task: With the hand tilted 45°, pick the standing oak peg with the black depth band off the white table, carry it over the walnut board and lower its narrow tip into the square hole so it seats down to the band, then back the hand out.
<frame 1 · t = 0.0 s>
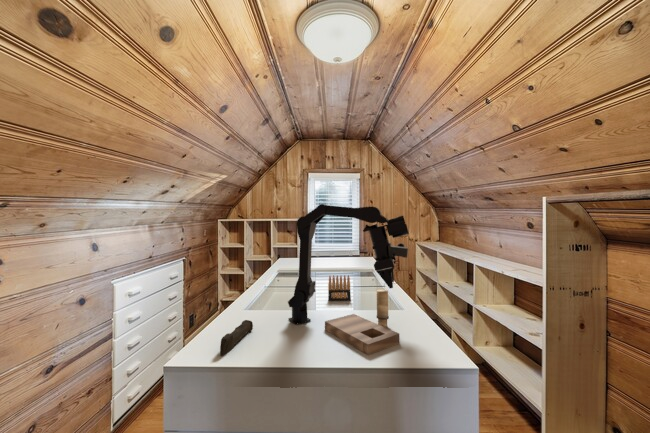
hand: (392, 284, 96), 15 cm above the table, tool pointing down, fingers open, 9 cm apart
ammunition clip: (339, 300, 132), on the table
oak peg: (382, 325, 100), on the table
hand tool: (237, 343, 88), on the table
walnut board: (359, 336, 91), on the table
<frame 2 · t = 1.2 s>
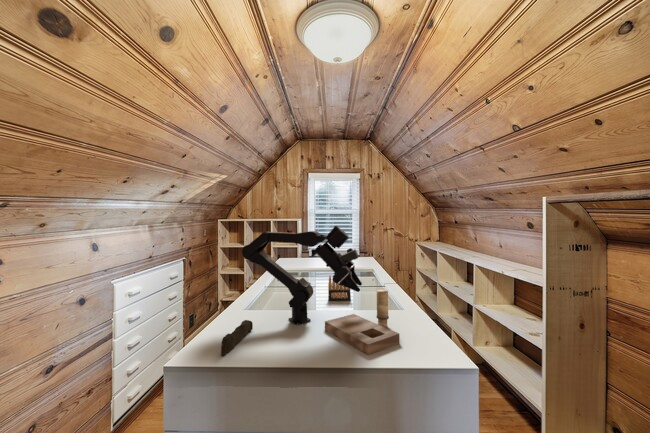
hand: (360, 287, 101), 13 cm above the table, tool tilted 45°, fingers open, 9 cm apart
nothing on the table moved.
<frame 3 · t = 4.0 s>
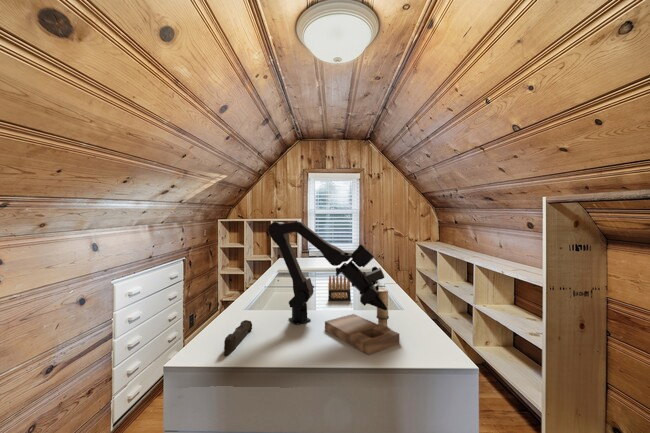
hand: (386, 307, 100), 7 cm above the table, tool tilted 45°, fingers closed on oak peg, 4 cm apart
oak peg: (382, 325, 100), on the table, touching gripper
everything else where it was.
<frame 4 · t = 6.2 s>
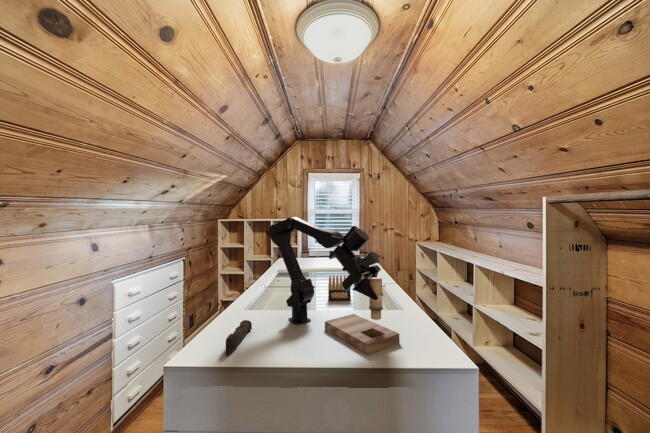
hand: (379, 297, 88), 13 cm above the table, tool tilted 45°, fingers closed on oak peg, 4 cm apart
oak peg: (376, 317, 89), point 7 cm above the table, touching gripper
everything else where it was.
when the fingers open (7 cm above the table, at t = 8.7 s): oak peg stays where it is, resting in walnut board.
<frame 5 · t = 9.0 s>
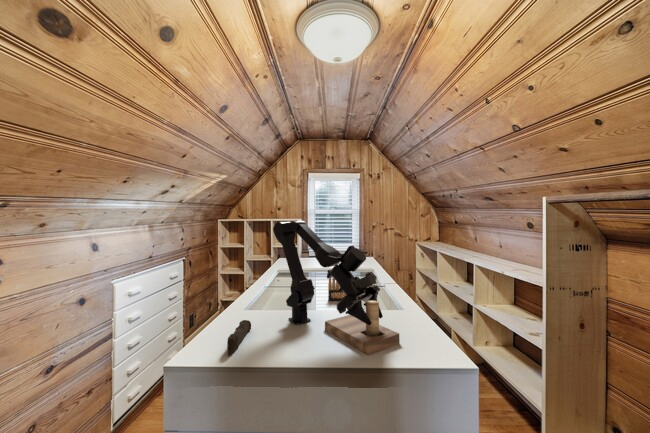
hand: (376, 320, 85), 7 cm above the table, tool tilted 45°, fingers open, 7 cm apart
oak peg: (372, 342, 86), resting in walnut board
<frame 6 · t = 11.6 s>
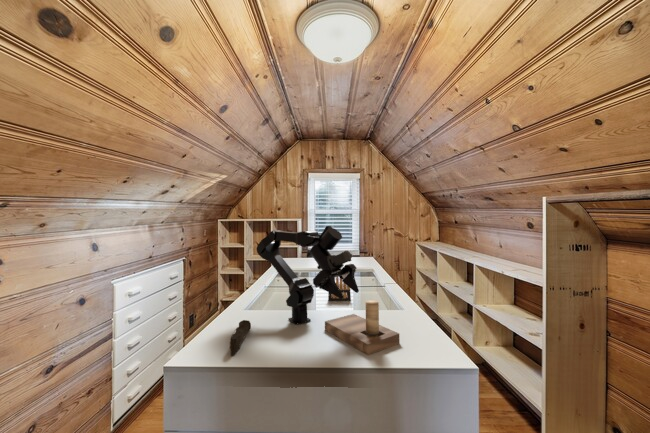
hand: (350, 295, 91), 14 cm above the table, tool tilted 45°, fingers open, 9 cm apart
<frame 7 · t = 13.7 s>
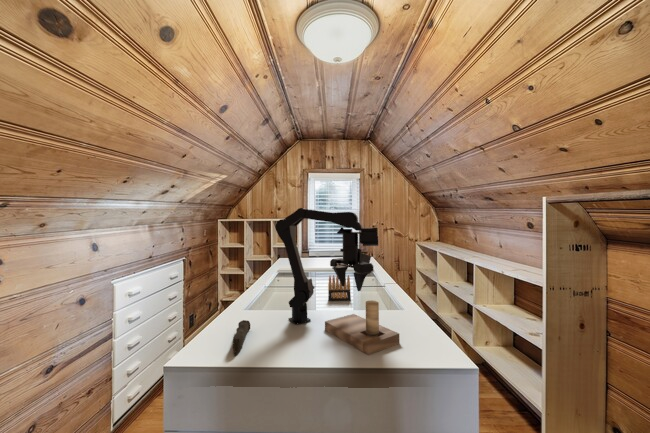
hand: (350, 288, 102), 13 cm above the table, tool pointing down, fingers open, 9 cm apart
at the end: oak peg 0.0 cm from the target spot on the walnut board, point 0.0 cm above the walnut board's base; oak peg tilted 0°; the gripper is holding nothing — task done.
